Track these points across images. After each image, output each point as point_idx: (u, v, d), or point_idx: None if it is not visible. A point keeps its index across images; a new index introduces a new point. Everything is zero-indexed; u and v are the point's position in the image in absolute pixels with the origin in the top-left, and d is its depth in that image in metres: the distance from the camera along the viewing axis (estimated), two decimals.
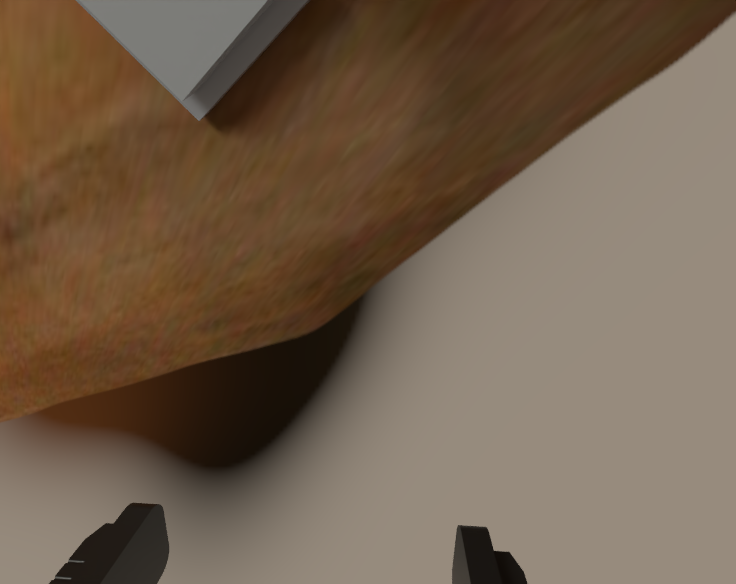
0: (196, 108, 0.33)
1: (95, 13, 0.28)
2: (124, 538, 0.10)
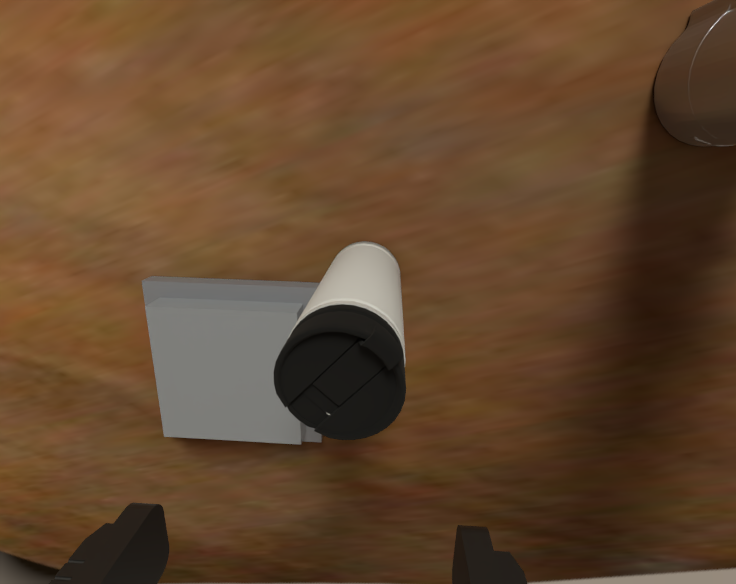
0: None
1: (156, 370, 0.37)
2: (124, 538, 0.10)
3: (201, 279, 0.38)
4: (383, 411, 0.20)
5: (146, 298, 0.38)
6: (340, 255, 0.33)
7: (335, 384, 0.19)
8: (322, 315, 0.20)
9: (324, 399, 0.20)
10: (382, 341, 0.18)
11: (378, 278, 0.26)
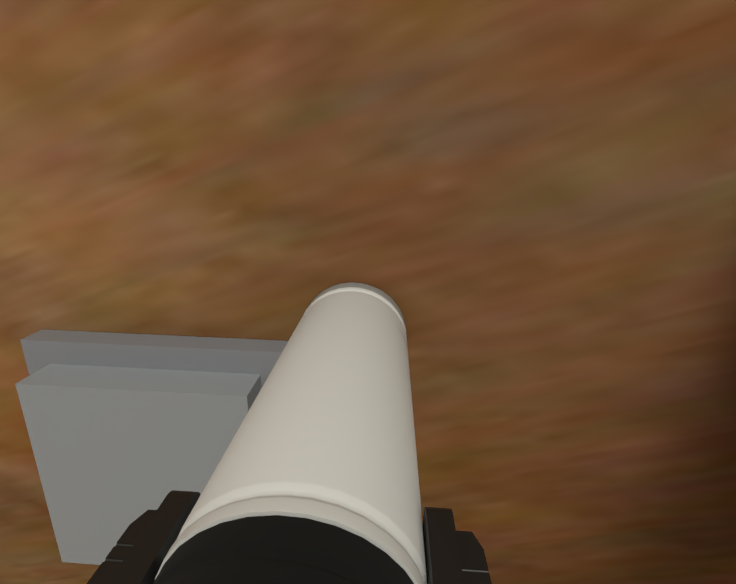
0: None
1: (41, 474, 0.25)
2: (169, 523, 0.10)
3: (113, 335, 0.26)
4: None
5: (30, 365, 0.25)
6: (312, 310, 0.21)
7: None
8: (214, 576, 0.07)
9: None
10: None
11: (370, 380, 0.14)
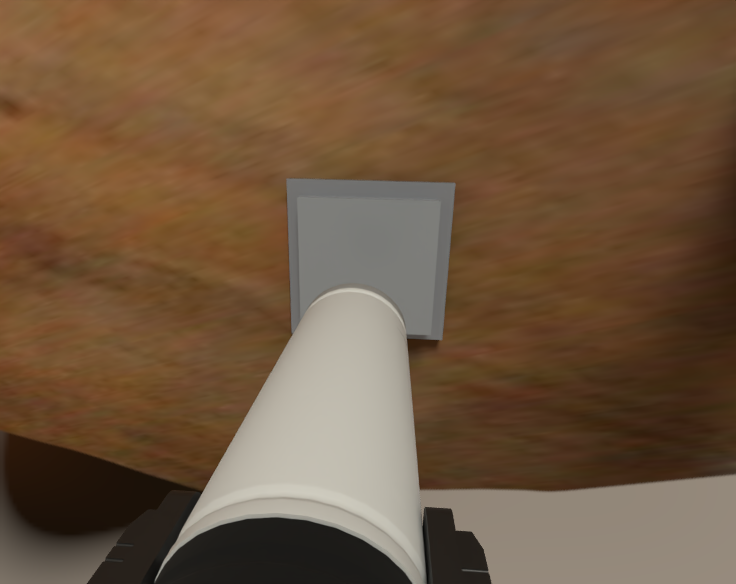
0: None
1: (300, 262, 0.40)
2: (169, 523, 0.10)
3: (339, 179, 0.41)
4: None
5: (289, 196, 0.40)
6: (312, 311, 0.21)
7: None
8: (214, 578, 0.07)
9: None
10: None
11: (371, 381, 0.14)
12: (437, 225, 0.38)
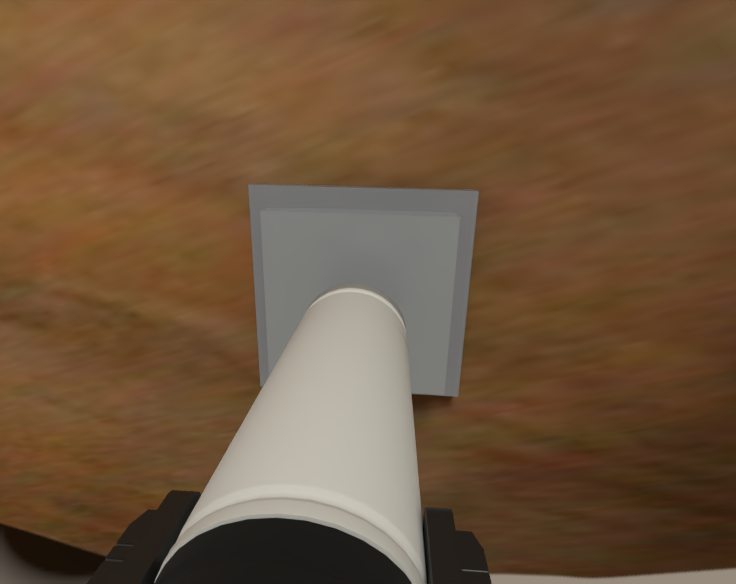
0: None
1: (266, 298, 0.29)
2: (169, 522, 0.10)
3: (320, 185, 0.30)
4: None
5: (253, 208, 0.30)
6: (312, 311, 0.21)
7: None
8: (214, 579, 0.07)
9: None
10: None
11: (371, 381, 0.14)
12: (454, 250, 0.27)
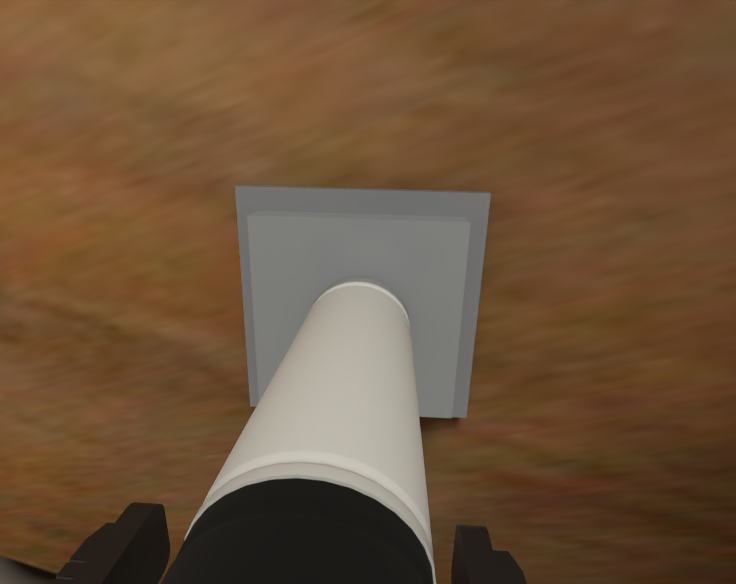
0: (258, 398, 0.31)
1: (255, 312, 0.26)
2: (125, 538, 0.10)
3: (315, 187, 0.27)
4: None
5: (240, 212, 0.27)
6: (320, 303, 0.22)
7: None
8: (244, 527, 0.08)
9: None
10: None
11: (378, 365, 0.15)
12: (464, 259, 0.24)
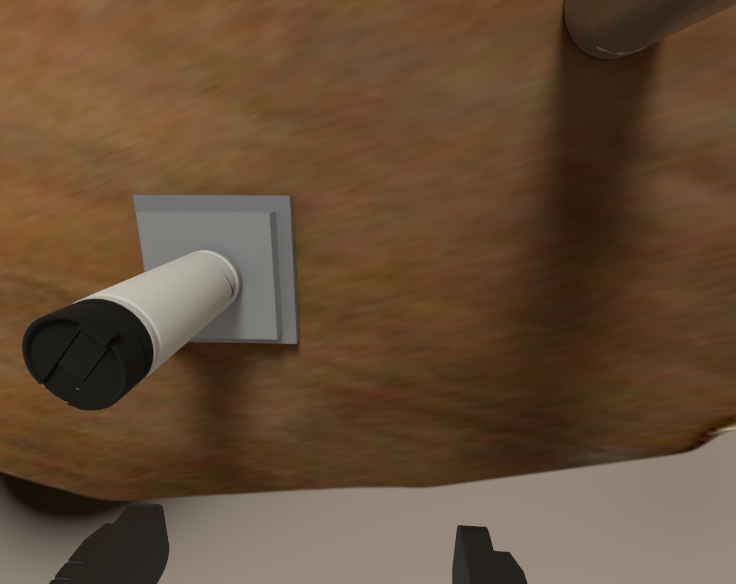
0: None
1: None
2: (124, 538, 0.10)
3: None
4: (117, 384, 0.24)
5: (137, 211, 0.43)
6: None
7: (75, 363, 0.24)
8: (66, 307, 0.24)
9: (72, 376, 0.24)
10: (92, 325, 0.22)
11: (170, 278, 0.31)
12: (269, 235, 0.40)
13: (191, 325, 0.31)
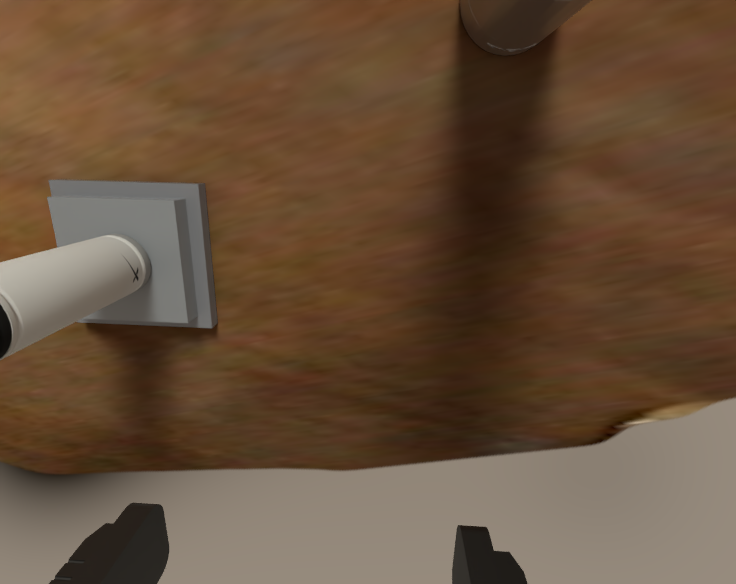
0: None
1: None
2: (124, 538, 0.10)
3: (101, 180, 0.44)
4: None
5: (54, 196, 0.44)
6: None
7: None
8: None
9: None
10: None
11: (50, 261, 0.32)
12: (174, 222, 0.42)
13: (70, 306, 0.32)
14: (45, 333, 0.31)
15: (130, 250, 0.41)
